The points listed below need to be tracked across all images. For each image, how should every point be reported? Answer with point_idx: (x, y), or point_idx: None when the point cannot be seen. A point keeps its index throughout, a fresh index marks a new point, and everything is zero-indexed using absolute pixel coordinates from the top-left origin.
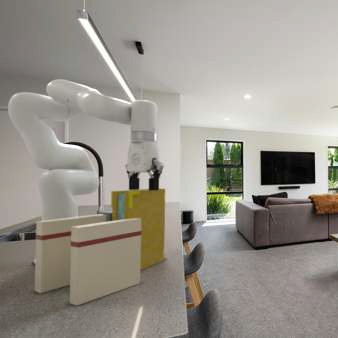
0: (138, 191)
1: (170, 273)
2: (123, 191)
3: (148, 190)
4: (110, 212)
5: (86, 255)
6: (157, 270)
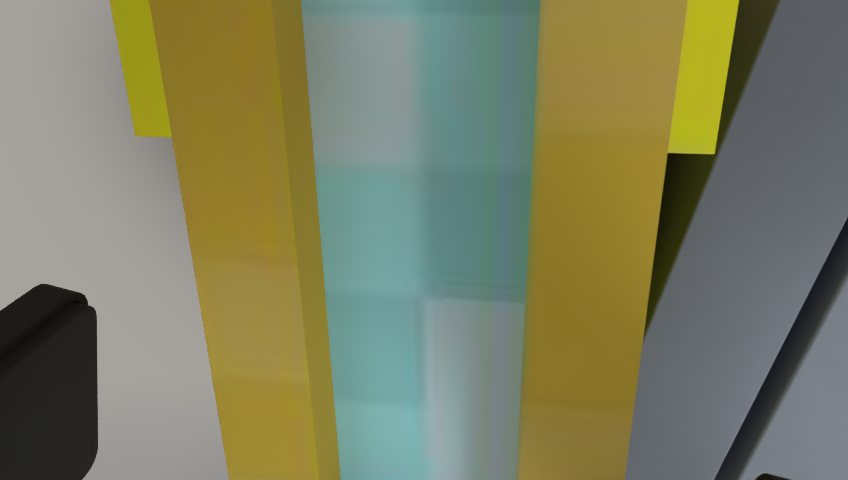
0: (127, 73)
1: None
2: (541, 13)
3: (216, 390)
4: (845, 20)
5: None
6: None
